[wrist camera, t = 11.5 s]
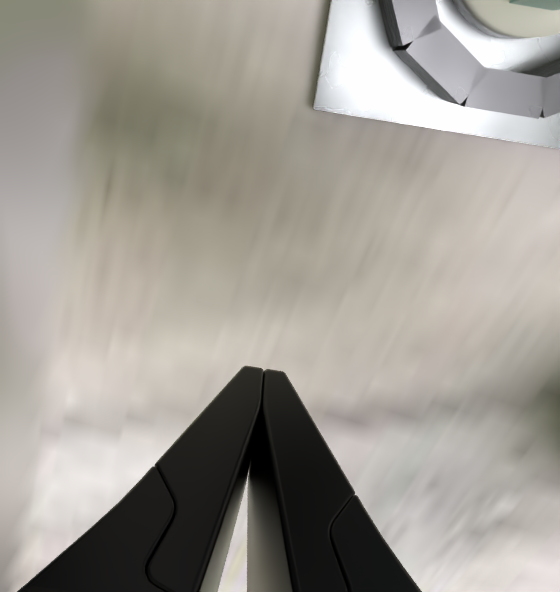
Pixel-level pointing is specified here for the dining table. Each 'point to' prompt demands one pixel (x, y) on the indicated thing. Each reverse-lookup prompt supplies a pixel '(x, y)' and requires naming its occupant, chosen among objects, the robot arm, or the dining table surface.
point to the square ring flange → (438, 72)
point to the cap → (512, 17)
